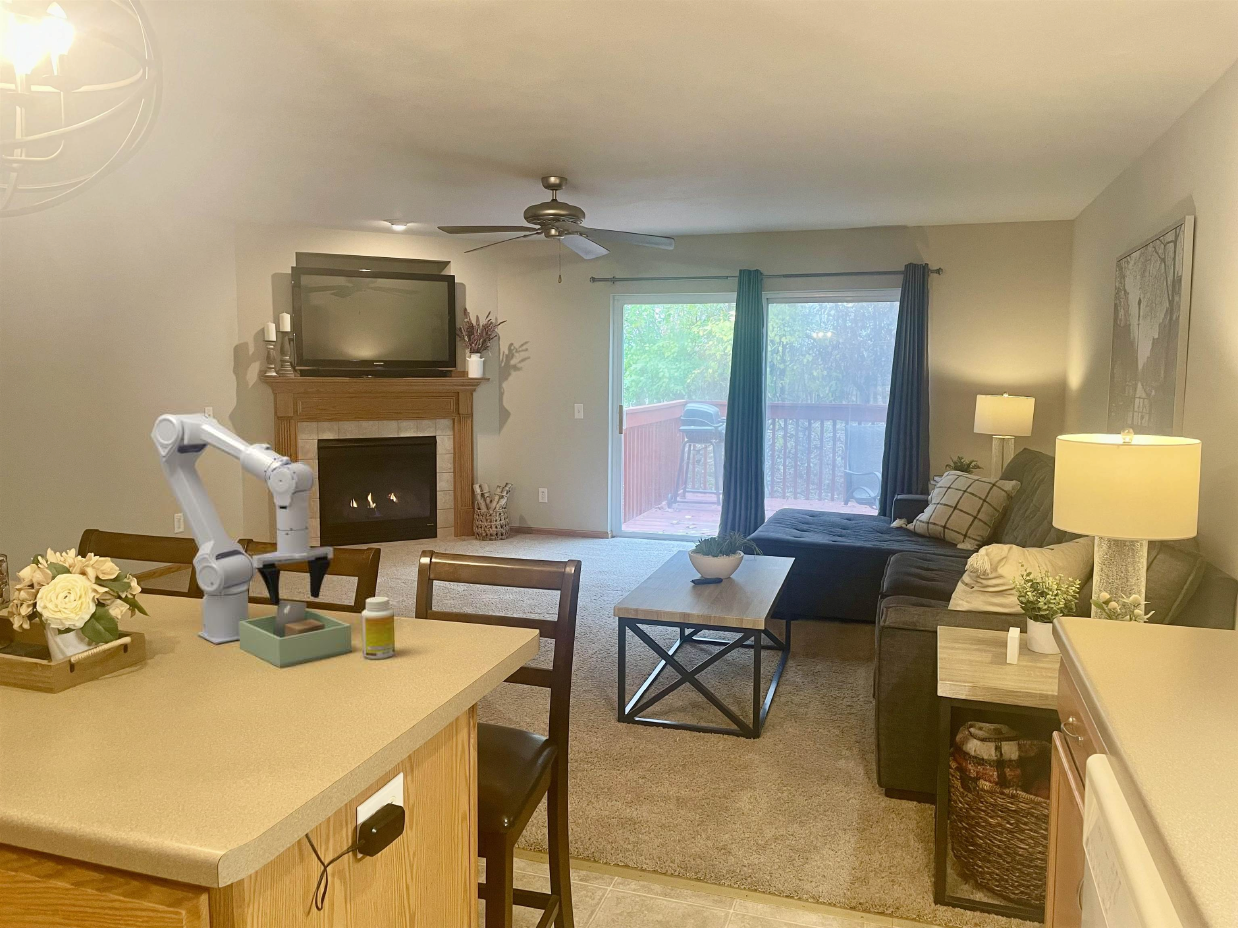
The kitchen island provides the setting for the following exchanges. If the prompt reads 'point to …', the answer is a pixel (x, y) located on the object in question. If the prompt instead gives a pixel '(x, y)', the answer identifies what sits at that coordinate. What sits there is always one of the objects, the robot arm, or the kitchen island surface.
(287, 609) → the cylinder
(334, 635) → the tote
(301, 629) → the cube
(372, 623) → the supplement bottle
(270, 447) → the robot arm
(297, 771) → the kitchen island surface
